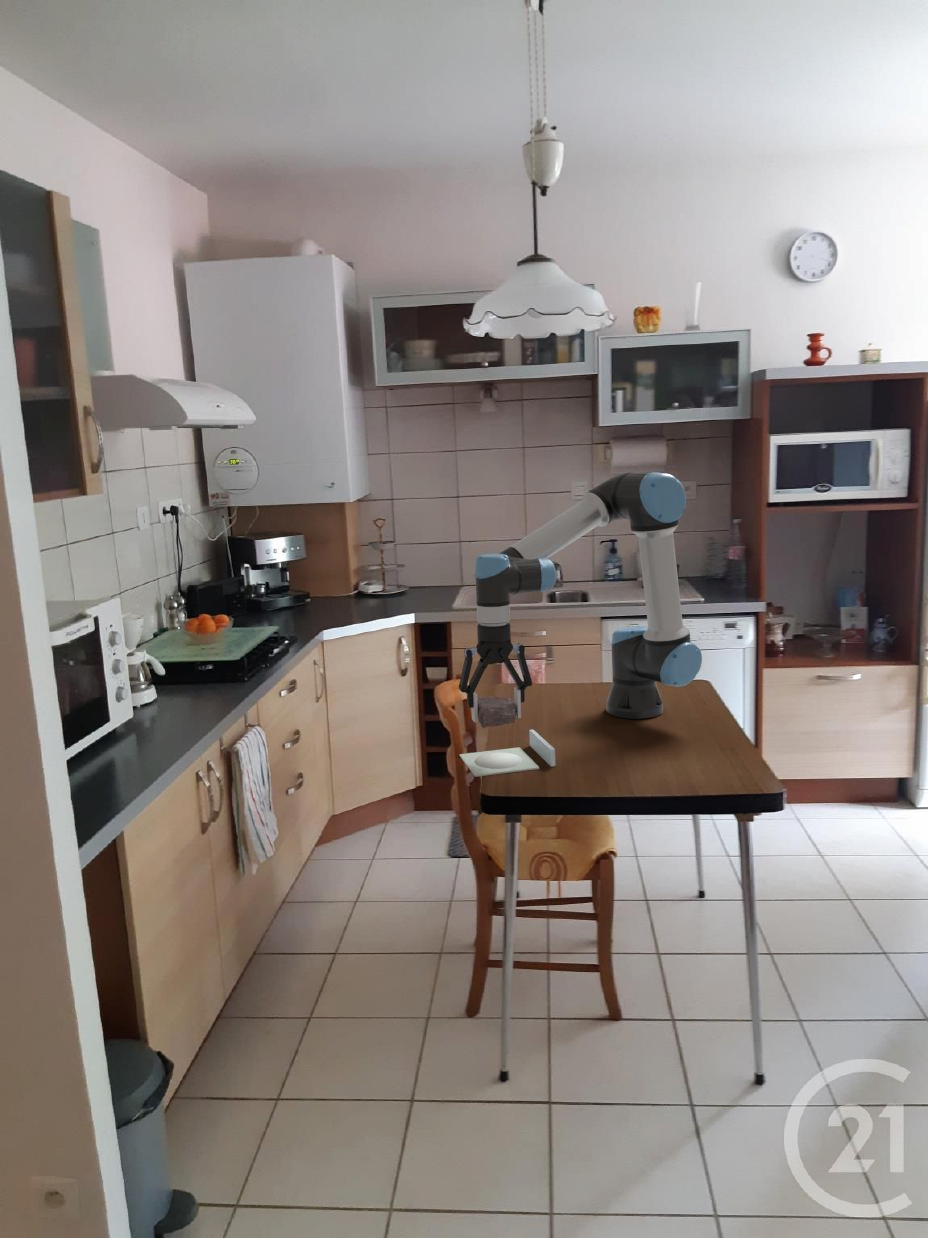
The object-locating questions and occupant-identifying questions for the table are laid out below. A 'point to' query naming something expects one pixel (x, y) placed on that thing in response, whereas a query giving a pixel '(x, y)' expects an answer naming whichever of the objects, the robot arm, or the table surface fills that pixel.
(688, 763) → the table surface
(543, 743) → the acrylic wall
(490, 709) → the stone
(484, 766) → the rest mat
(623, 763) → the table surface
